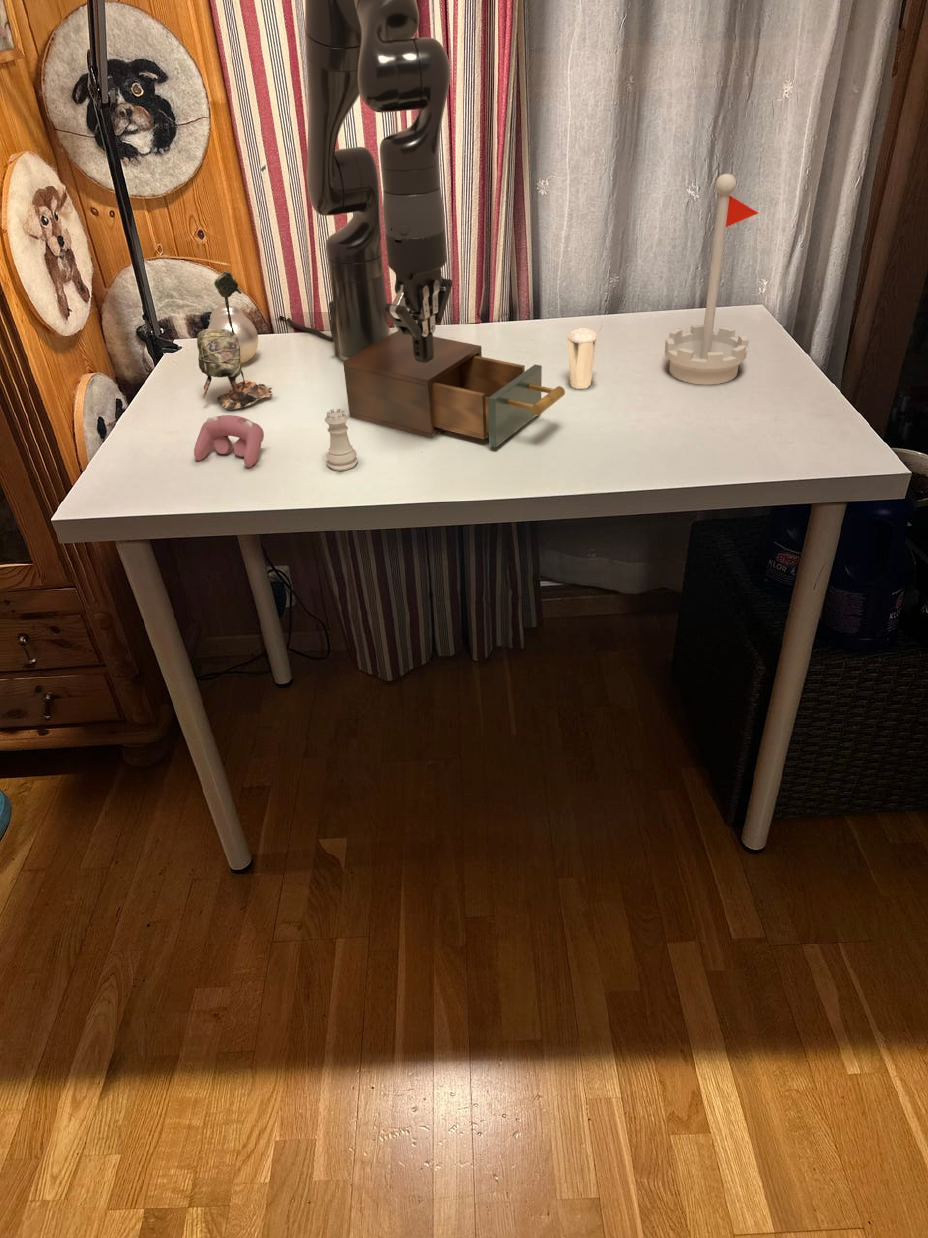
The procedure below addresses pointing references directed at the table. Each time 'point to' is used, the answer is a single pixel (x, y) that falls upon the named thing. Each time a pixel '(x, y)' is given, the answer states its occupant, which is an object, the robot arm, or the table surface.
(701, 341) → the flag stand
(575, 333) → the milkshake
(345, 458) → the rook chess piece
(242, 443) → the video game controller
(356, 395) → the cabinet
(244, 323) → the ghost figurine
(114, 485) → the table surface
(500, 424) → the drawer
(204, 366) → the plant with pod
